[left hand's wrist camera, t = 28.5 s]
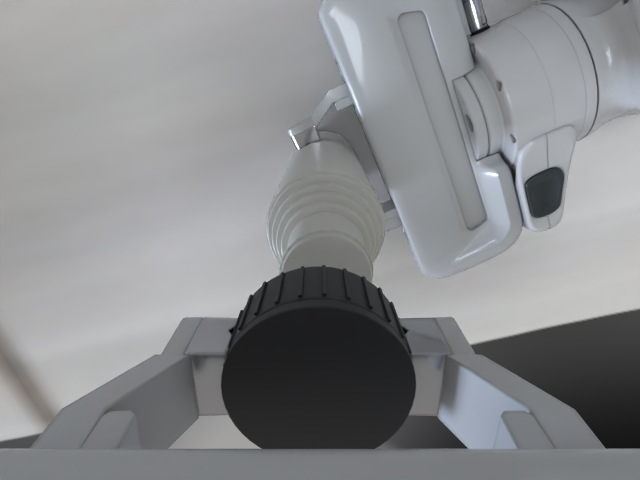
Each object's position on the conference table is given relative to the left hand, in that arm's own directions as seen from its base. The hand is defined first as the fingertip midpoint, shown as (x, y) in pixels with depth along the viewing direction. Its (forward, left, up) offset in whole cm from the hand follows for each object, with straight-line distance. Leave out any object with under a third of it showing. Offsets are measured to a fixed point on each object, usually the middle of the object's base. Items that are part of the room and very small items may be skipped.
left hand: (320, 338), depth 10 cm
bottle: (0, 0, -24) cm, 24 cm away
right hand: (0, +1, -18) cm, 18 cm away
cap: (0, 0, +2) cm, 2 cm away
